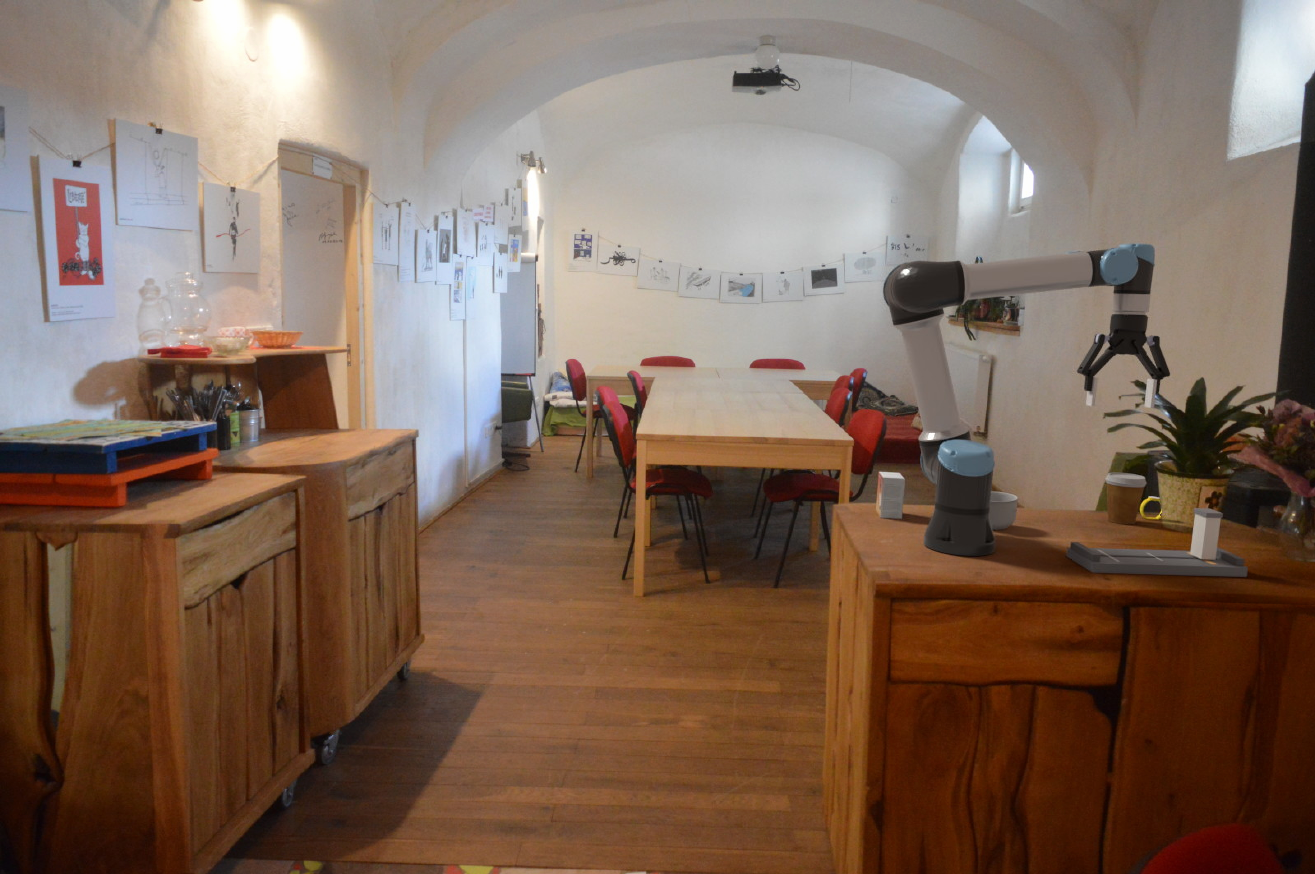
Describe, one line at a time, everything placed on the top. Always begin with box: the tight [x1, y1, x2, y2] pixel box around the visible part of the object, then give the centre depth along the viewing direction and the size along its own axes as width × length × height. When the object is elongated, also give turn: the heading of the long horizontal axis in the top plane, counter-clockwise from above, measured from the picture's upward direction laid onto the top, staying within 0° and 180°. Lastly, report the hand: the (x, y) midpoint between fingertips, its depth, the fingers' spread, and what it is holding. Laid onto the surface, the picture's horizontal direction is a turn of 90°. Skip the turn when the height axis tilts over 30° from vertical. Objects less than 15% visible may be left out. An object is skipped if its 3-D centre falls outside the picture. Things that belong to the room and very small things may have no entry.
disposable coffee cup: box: [1104, 472, 1148, 525], centre depth 234 cm, size 10×10×12 cm
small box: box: [875, 471, 906, 520], centre depth 233 cm, size 8×6×10 cm
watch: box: [1139, 495, 1162, 521], centre depth 238 cm, size 6×3×6 cm, turn 89°
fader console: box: [1065, 541, 1249, 578], centre depth 194 cm, size 32×12×4 cm, turn 90°
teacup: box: [989, 490, 1019, 531], centre depth 226 cm, size 14×11×8 cm
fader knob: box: [1190, 507, 1224, 560], centre depth 193 cm, size 3×4×10 cm
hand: (1119, 406), depth 210 cm, fingers open, 13 cm apart
